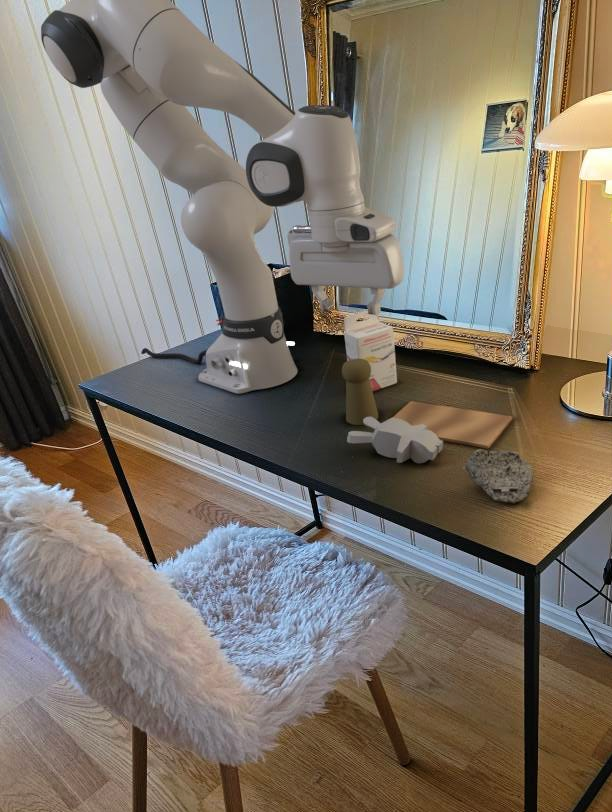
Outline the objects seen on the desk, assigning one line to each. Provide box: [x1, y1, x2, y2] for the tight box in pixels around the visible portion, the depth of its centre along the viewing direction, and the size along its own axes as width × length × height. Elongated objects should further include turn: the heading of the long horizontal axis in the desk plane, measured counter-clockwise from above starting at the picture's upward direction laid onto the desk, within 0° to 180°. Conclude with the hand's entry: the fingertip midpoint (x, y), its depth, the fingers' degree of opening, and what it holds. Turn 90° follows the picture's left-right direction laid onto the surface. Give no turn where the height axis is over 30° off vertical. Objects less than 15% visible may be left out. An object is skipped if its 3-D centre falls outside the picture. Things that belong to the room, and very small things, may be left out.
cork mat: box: [392, 400, 514, 450], centre depth 114 cm, size 20×11×1 cm, turn 59°
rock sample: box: [462, 448, 535, 504], centre depth 94 cm, size 10×8×9 cm
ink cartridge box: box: [343, 309, 398, 392], centre depth 127 cm, size 9×5×15 cm, turn 122°
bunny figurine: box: [346, 417, 444, 464], centre depth 107 cm, size 10×5×15 cm
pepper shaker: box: [341, 359, 379, 426], centre depth 117 cm, size 6×6×11 cm
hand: (350, 312), depth 109 cm, fingers open, 8 cm apart
